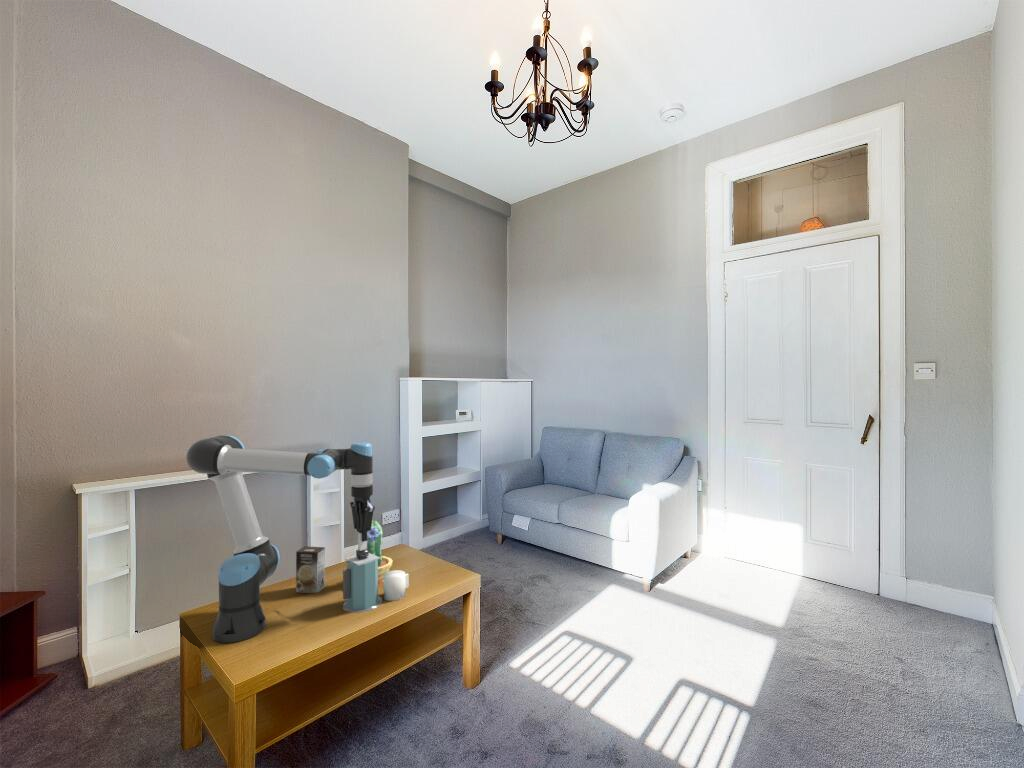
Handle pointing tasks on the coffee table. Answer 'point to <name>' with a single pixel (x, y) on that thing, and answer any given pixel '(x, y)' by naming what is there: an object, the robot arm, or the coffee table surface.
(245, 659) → the coffee table surface
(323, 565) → the coffee box
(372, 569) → the carafe
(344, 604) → the trivet
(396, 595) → the mug
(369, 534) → the potted cactus
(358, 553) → the plunger
